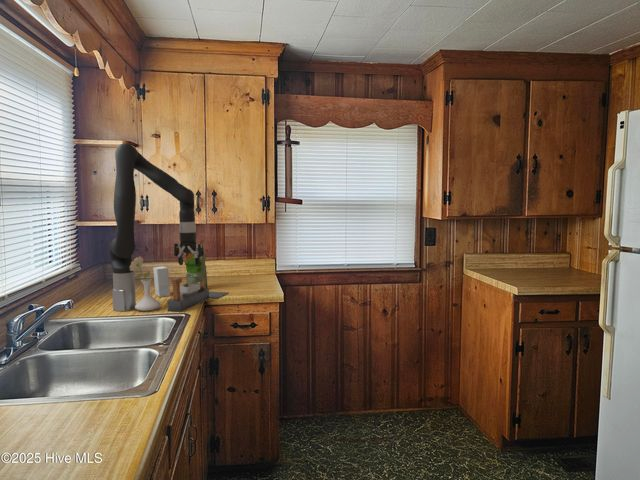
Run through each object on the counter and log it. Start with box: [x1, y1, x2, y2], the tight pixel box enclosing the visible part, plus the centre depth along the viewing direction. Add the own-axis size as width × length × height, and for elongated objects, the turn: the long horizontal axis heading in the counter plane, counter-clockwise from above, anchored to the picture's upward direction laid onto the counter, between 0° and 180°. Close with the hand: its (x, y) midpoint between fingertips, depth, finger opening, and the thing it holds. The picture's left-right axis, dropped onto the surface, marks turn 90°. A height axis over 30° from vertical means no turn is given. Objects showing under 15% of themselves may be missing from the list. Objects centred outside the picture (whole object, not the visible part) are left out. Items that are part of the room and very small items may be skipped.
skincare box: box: [152, 265, 171, 298], centre depth 248 cm, size 8×6×15 cm
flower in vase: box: [129, 255, 162, 312], centre depth 217 cm, size 13×11×25 cm
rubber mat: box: [209, 290, 229, 300], centre depth 247 cm, size 12×12×1 cm
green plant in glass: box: [184, 247, 208, 289], centre depth 261 cm, size 11×12×25 cm
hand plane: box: [167, 277, 210, 313], centre depth 227 cm, size 26×6×14 cm, turn 164°
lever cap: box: [180, 282, 200, 294], centre depth 228 cm, size 10×5×4 cm, turn 164°
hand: (189, 265), depth 227 cm, fingers open, 8 cm apart
